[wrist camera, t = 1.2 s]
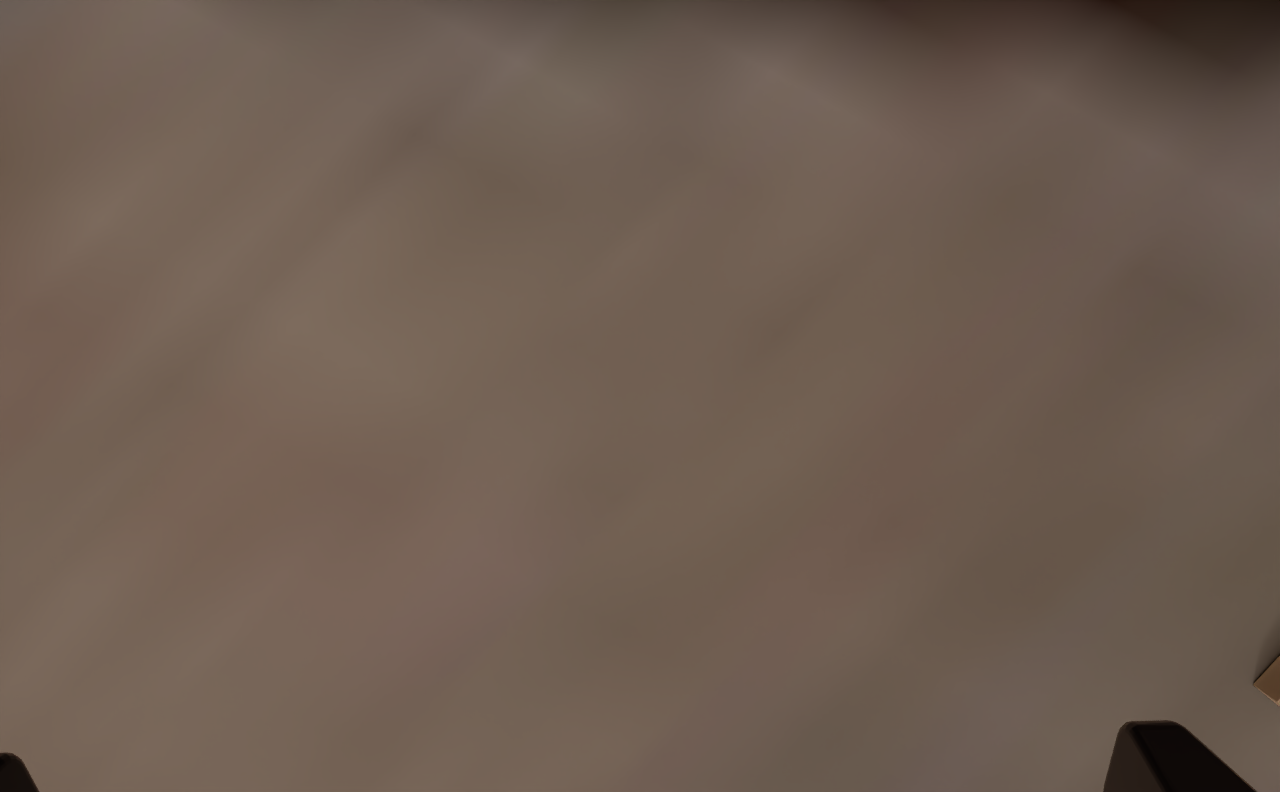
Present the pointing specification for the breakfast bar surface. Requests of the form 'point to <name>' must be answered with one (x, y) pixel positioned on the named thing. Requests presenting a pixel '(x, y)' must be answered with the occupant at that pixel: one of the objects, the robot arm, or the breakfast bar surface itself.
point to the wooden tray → (1270, 682)
